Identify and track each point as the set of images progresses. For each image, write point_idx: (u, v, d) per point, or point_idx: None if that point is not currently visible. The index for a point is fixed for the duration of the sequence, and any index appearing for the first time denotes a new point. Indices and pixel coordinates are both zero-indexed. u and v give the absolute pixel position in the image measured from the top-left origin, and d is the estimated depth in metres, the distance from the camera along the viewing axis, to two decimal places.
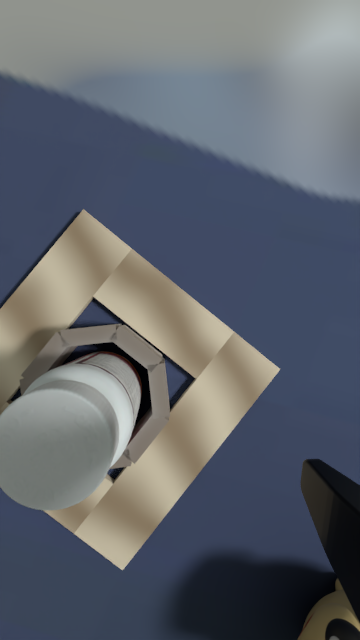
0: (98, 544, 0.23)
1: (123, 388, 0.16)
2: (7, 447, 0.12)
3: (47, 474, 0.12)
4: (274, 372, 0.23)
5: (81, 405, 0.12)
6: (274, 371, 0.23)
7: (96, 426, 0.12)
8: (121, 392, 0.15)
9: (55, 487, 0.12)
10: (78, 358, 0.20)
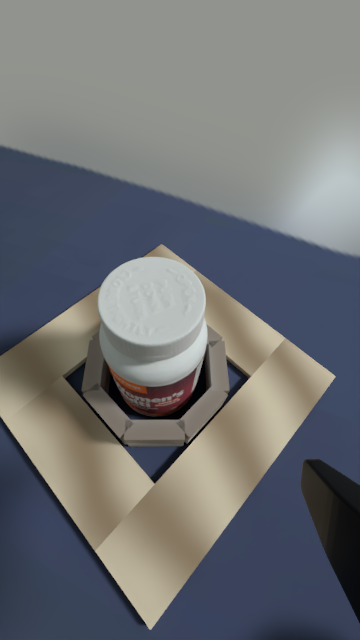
0: (123, 574, 0.17)
1: None
2: (115, 290, 0.14)
3: (145, 314, 0.13)
4: (330, 378, 0.23)
5: (182, 268, 0.15)
6: (330, 377, 0.23)
7: (193, 283, 0.14)
8: None
9: (151, 325, 0.13)
10: None
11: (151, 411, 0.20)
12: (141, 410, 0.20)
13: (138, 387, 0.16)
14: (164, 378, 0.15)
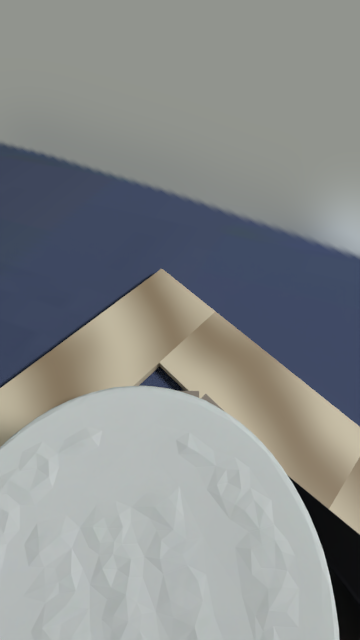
0: None
1: None
2: None
3: None
4: None
5: (231, 438, 0.04)
6: None
7: (279, 514, 0.04)
8: None
9: None
10: None
11: None
12: None
13: None
14: None
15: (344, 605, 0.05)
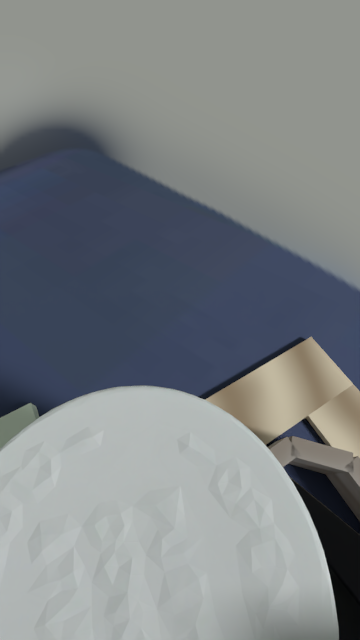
0: None
1: None
2: None
3: None
4: None
5: (232, 437, 0.04)
6: None
7: (280, 513, 0.04)
8: None
9: None
10: None
11: None
12: None
13: None
14: None
15: (344, 605, 0.05)
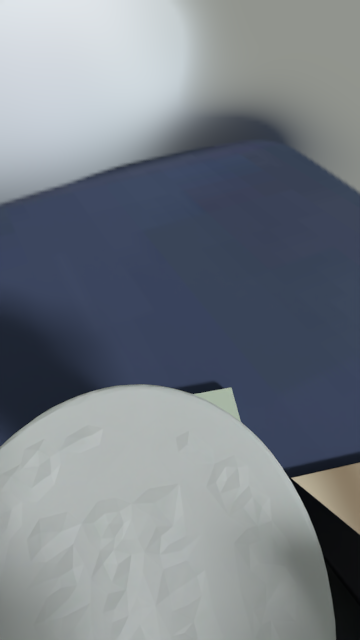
0: None
1: None
2: None
3: None
4: None
5: (230, 435, 0.04)
6: None
7: (277, 510, 0.04)
8: None
9: None
10: None
11: None
12: None
13: None
14: None
15: (344, 605, 0.05)
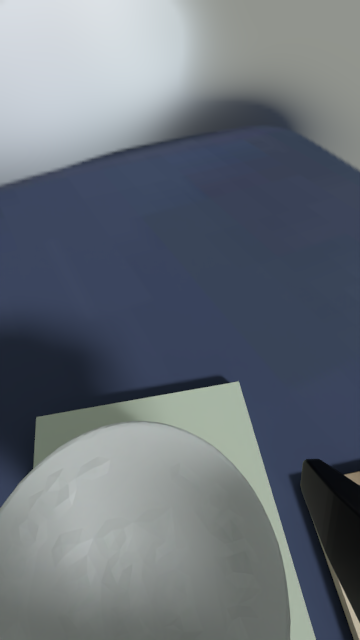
0: None
1: None
2: (22, 561, 0.05)
3: None
4: None
5: (214, 467, 0.05)
6: None
7: (249, 530, 0.05)
8: None
9: None
10: None
11: None
12: None
13: None
14: None
15: None
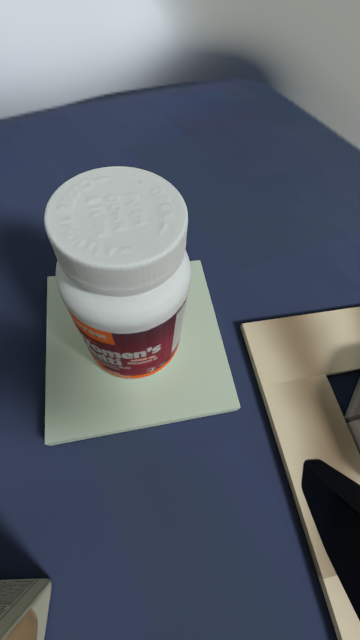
0: (348, 628, 0.15)
1: None
2: (71, 201, 0.11)
3: (107, 231, 0.10)
4: None
5: (159, 181, 0.11)
6: None
7: (173, 198, 0.11)
8: None
9: (113, 244, 0.10)
10: None
11: (124, 372, 0.17)
12: (112, 371, 0.17)
13: (103, 335, 0.13)
14: (133, 321, 0.12)
15: None
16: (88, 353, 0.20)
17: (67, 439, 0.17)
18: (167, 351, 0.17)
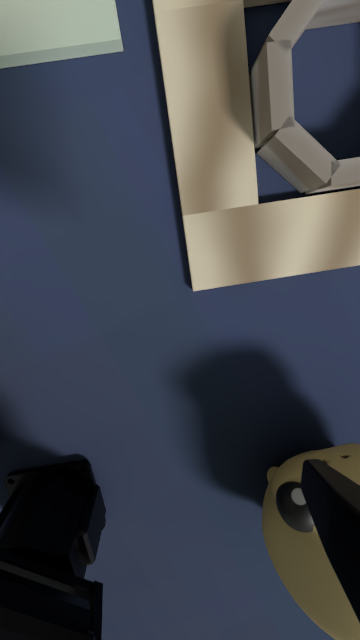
0: (194, 247, 0.19)
1: None
2: None
3: None
4: None
5: None
6: None
7: None
8: None
9: None
10: None
11: None
12: None
13: None
14: None
15: None
16: None
17: None
18: None
